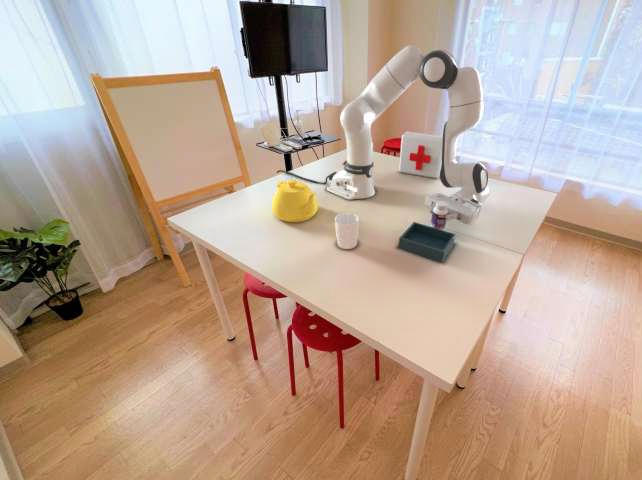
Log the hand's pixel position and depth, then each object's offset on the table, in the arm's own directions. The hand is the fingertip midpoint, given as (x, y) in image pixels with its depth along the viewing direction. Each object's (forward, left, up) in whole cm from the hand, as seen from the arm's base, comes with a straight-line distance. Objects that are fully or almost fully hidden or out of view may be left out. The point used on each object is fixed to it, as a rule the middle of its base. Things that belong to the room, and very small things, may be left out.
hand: (438, 214), depth 110 cm
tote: (0, -11, -7) cm, 13 cm away
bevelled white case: (-27, +49, -7) cm, 56 cm away
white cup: (-24, -24, -7) cm, 34 cm away
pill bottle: (0, +1, -6) cm, 6 cm away
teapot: (-52, -17, -7) cm, 55 cm away
